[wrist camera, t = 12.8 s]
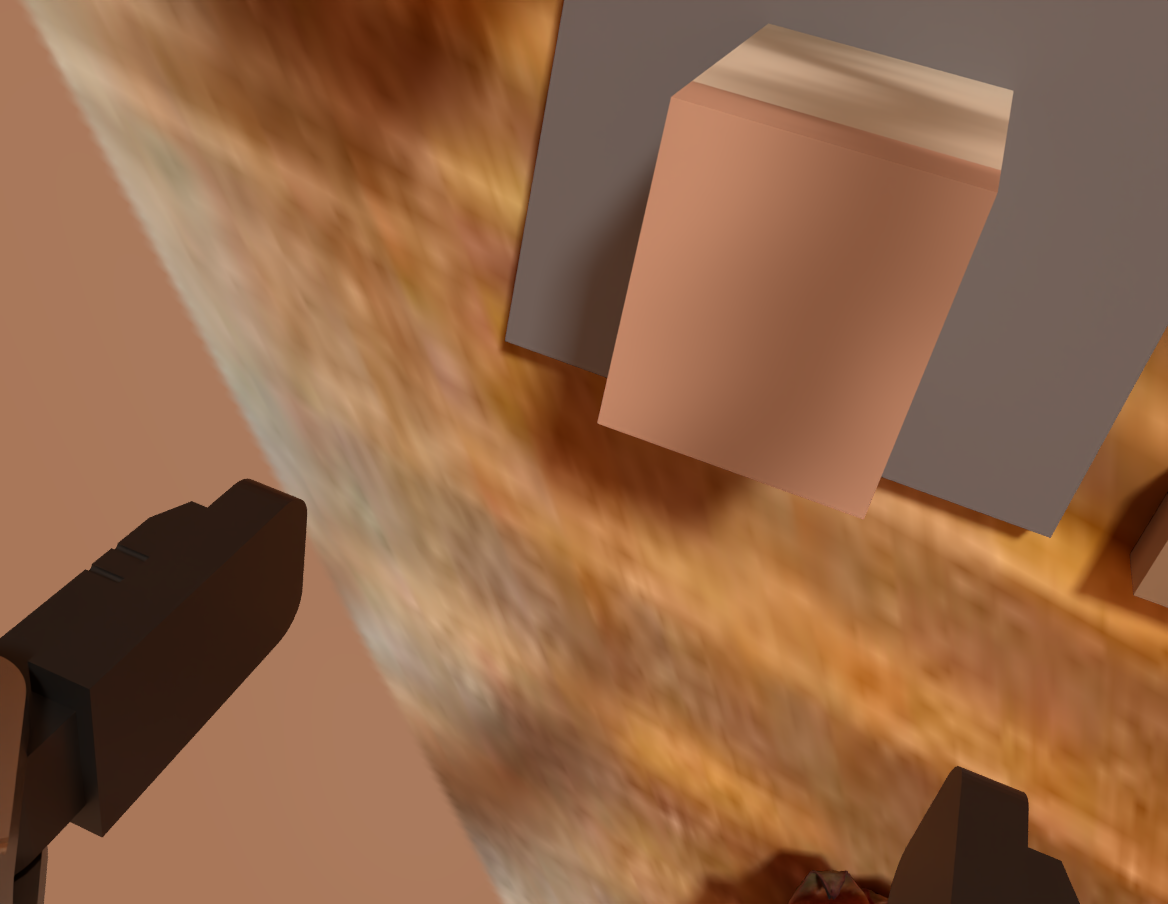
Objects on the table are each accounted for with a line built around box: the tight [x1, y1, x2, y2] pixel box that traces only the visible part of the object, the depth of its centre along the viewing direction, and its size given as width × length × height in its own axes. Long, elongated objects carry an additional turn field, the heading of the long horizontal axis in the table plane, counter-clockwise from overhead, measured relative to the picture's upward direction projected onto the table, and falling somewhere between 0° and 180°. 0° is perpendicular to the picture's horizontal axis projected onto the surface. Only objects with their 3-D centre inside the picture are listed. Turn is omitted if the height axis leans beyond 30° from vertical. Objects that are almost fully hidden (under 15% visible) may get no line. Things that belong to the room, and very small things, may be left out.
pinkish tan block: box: [597, 23, 1013, 519], centre depth 21 cm, size 5×8×9 cm, turn 169°
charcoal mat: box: [505, 0, 1168, 538], centre depth 24 cm, size 14×12×1 cm
